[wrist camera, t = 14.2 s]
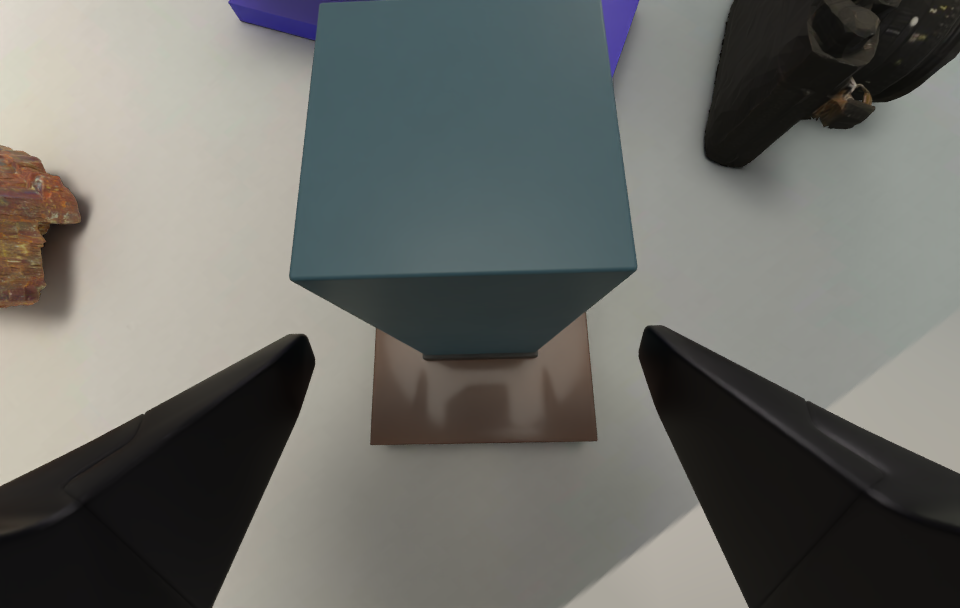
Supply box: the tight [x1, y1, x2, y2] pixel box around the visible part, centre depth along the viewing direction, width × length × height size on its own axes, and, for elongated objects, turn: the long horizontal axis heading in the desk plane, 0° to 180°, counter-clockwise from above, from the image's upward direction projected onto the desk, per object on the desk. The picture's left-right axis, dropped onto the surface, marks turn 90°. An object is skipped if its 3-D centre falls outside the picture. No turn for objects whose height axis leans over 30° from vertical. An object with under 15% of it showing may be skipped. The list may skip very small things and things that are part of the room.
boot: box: [289, 0, 637, 361], centre depth 13 cm, size 10×6×13 cm, turn 1°
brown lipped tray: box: [370, 312, 598, 445], centre depth 19 cm, size 16×11×6 cm
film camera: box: [705, 0, 960, 168], centre depth 20 cm, size 18×12×10 cm
